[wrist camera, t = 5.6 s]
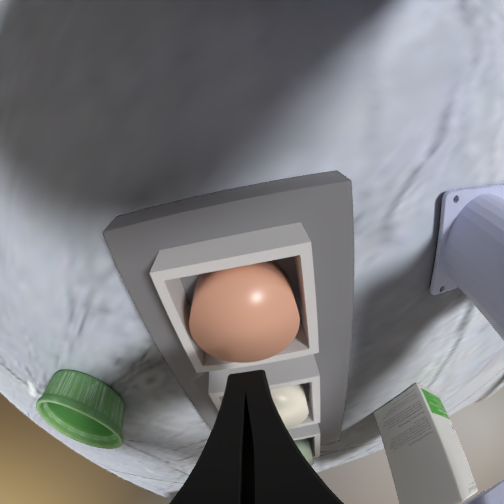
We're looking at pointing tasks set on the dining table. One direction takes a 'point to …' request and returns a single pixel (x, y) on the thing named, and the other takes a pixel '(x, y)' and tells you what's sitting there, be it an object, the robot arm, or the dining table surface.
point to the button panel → (241, 254)
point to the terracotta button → (244, 312)
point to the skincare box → (424, 449)
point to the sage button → (305, 449)
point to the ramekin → (83, 409)
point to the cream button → (291, 404)
